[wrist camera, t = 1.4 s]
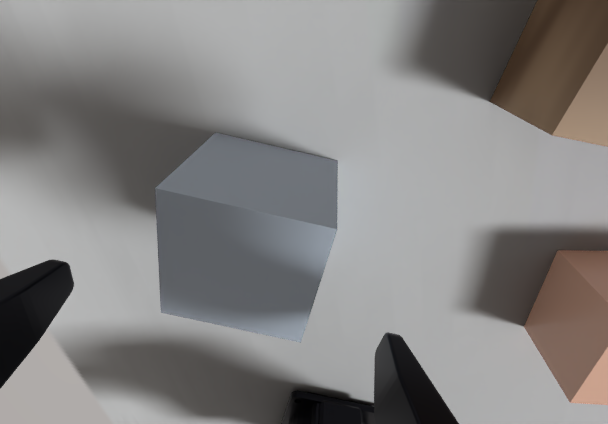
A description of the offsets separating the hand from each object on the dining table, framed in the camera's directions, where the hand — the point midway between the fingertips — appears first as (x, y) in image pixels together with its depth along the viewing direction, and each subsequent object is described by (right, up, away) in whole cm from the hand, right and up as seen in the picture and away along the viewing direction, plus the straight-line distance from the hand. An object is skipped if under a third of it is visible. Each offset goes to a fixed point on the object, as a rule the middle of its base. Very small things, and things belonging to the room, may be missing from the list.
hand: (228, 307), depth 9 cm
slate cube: (+1, +3, +5) cm, 6 cm away
